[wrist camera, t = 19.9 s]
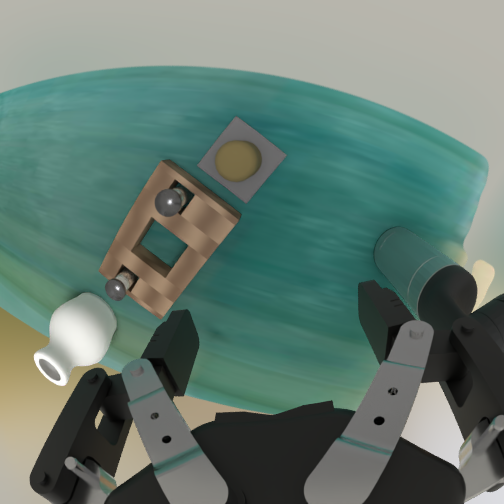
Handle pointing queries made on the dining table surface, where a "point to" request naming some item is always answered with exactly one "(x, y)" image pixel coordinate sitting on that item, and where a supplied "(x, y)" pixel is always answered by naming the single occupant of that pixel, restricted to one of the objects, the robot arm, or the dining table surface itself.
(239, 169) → the cork
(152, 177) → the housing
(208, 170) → the pad
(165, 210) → the plunger
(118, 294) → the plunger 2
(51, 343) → the vase
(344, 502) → the robot arm
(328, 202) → the dining table surface
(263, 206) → the dining table surface
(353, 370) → the dining table surface
